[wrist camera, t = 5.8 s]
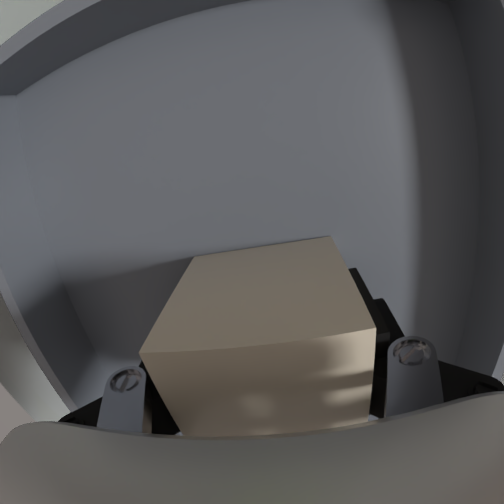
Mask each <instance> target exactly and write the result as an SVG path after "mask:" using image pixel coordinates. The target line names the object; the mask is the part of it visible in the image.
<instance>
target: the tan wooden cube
mask: <svg viewBox="0 0 504 504" xmlns="http://www.w3.org/2000/svg"><path fill="white" fill-rule="evenodd" d="M375 342H376V326H375V324H374V322H373V320H372V317H371V315H370V313H369V311H368V309H367V307H366V305H365V303H364V300H363V298H362V296H361V294H360V292H359V290H358V288H357V286H356V284H355V282H354V280H353V278H352V276H351V274H350V272H349V270H348V268H347V266H346V264H345V262H344V260H343V258H342V256H341V254H340V252H339V250H338V249H337V247H336V245H335V243H334V241H333V239H332V237H331V236H328V237H322V238H315V239H308V240H301V241H295V242H288V243H281V244H275V245H268V246H261V247H255V248H248V249H241V250H235V251H228V252H222V253H215V254H208V255H202V256H195V257H194V258H193V259H192V261H191V263H190V264H189V266H188V268H187V269H186V271H185V273H184V274H183V276H182V278H181V279H180V281H179V283H178V284H177V286H176V288H175V290H174V291H173V293H172V295H171V296H170V298H169V300H168V302H167V303H166V305H165V307H164V308H163V310H162V312H161V314H160V315H159V317H158V319H157V321H156V322H155V324H154V326H153V328H152V329H151V331H150V333H149V335H148V337H147V338H146V340H145V342H144V344H143V346H142V347H141V349H140V351H139V355H140V357H141V359H142V361H143V363H144V365H145V367H146V369H147V371H148V373H149V375H150V377H151V379H152V381H153V383H154V385H155V387H156V389H157V390H158V392H159V394H160V396H161V398H162V400H163V401H164V403H165V405H166V407H167V409H168V410H169V412H170V414H171V416H172V417H173V419H174V421H175V422H176V424H177V426H178V427H179V429H180V431H181V432H182V434H183V436H254V435H271V434H284V433H294V432H303V431H312V430H320V429H327V428H334V427H340V426H346V425H352V424H357V423H362V422H367V421H368V416H369V409H370V400H371V391H372V382H373V371H374V358H375Z"/></svg>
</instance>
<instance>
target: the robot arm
mask: <svg viewBox="0 0 504 504" xmlns="http://www.w3.org/2000/svg"><path fill="white" fill-rule="evenodd" d="M348 270H349V272H350V274H351V276H352V278H353V280H354V282H355V284H356V286H357V288H358V290H359V292H360V294H361V296H362V298H363V300H364V303H365V305H366V307H367V309H368V311H369V313H370V315H371V317H372V320H373V322H374V324H375V326H376V342H375V358H374V371H373V382H372V391H371V400H370V409H369V415H373V416H375V417H377V418H378V419H377V420H372V421H367V422H362V423H357V424H352V425H346V426H340V427H334V428H327V429H320V430H312V431H303V432H294V433H284V434H271V435H254V436H180V434H179V432H180V429H179V427H178V426H177V424H176V422H175V421H174V419H173V417H172V416H171V414H170V412H169V410H168V409H167V407H166V405H165V403H164V401H163V400H162V398H161V396H160V394H159V392H158V390H157V389H156V387H155V385H154V383H153V381H152V379H151V377H150V375H149V373H148V371H147V369H146V367H145V365H144V363H143V361H141V363H140V365H139V367H137V366H127V367H124V368H121V369H119V370H117V371H115V372H114V373H113V374H112V375H111V376H110V377H109V378H108V380H107V382H106V385H105V389H104V393H103V396H102V397H100V398H98V399H97V400H95V401H93V402H91V403H89V404H87V405H85V406H83V407H81V408H79V409H77V410H75V411H73V412H71V413H69V414H67V415H66V416H64V417H62V418H61V419H60V420H59V421H58V422H54V421H41V422H34V423H27V424H24V425H21V426H18V427H16V428H14V429H13V430H12V431H11V432H10V433H9V434H8V435H7V436H6V437H5V439H4V440H3V441H2V442H1V444H0V504H504V385H503V384H502V383H501V382H500V381H499V380H498V379H496V378H494V377H492V376H488V375H485V374H482V373H478V372H475V371H472V370H468V369H465V368H462V367H459V366H455V365H452V364H449V363H446V362H443V361H440V360H438V358H437V353H436V349H435V347H434V345H433V344H432V343H431V342H430V341H428V340H427V339H425V338H422V337H418V336H406V337H405V336H404V334H403V332H402V330H401V328H400V326H399V325H398V323H397V321H396V319H395V318H394V316H393V314H392V312H391V310H390V309H389V307H388V305H387V304H386V302H385V300H384V299H383V298H379V299H373V298H372V296H371V294H370V292H369V290H368V288H367V286H366V285H365V283H364V281H363V279H362V277H361V276H360V274H359V272H358V270H357V268H350V269H348Z"/></svg>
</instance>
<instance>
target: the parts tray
mask: <svg viewBox="0 0 504 504" xmlns="http://www.w3.org/2000/svg"><path fill="white" fill-rule="evenodd" d="M328 236H331V237H332V239H333V241H334V243H335V245H336V247H337V249H338V250H339V252H340V254H341V256H342V258H343V260H344V262H345V264H346V266H347V268H348V269H350V268H357V270H358V272H359V274H360V276H361V277H362V279H363V281H364V283H365V285H366V286H367V288H368V290H369V292H370V294H371V296H372V298H373V299H379V298H383V299H384V300H385V302H386V304H387V305H388V307H389V309H390V310H391V312H392V314H393V316H394V318H395V319H396V321H397V323H398V325H399V326H400V328H401V330H402V332H403V334H404V336H405V337H406V336H418V337H422V338H425V339H427V340H428V341H430V342H431V343H432V344H433V345H434V347H435V349H436V353H437V358H438V360H440V361H443V362H446V363H449V364H452V365H455V366H459V367H462V368H465V369H468V370H472V371H475V372H478V373H482V374H485V375H488V376H492V377H494V378H496V379H498V380H499V381H500V380H501V377H502V375H503V373H504V0H64V1H62V2H61V3H59V4H57V5H56V6H54V7H53V8H51V9H50V10H48V11H46V12H45V13H43V14H42V15H40V16H39V17H38V18H36V19H35V20H33V21H32V22H30V23H29V24H28V25H26V26H25V27H24V28H22V29H21V30H20V31H18V32H17V33H16V34H14V35H13V36H12V37H11V38H9V39H8V40H7V41H6V42H4V43H3V44H2V45H1V46H0V292H1V295H2V297H3V299H4V301H5V303H6V306H7V308H8V310H9V312H10V314H11V316H12V318H13V320H14V322H15V324H16V326H17V328H18V330H19V332H20V333H21V335H22V337H23V339H24V341H25V343H26V344H27V346H28V348H29V350H30V351H31V353H32V355H33V356H34V358H35V360H36V361H37V363H38V365H39V366H40V368H41V370H42V371H43V373H44V374H45V376H46V377H47V379H48V380H49V382H50V383H51V385H52V386H53V388H54V389H55V391H56V392H57V394H58V395H59V396H60V398H61V399H62V401H63V402H64V403H65V405H66V406H67V407H68V409H69V410H70V411H71V412H73V411H75V410H77V409H79V408H81V407H83V406H85V405H87V404H89V403H91V402H93V401H95V400H97V399H98V398H100V397H102V396H103V393H104V389H105V385H106V382H107V380H108V378H109V377H110V376H111V375H112V374H113V373H114V372H115V371H117V370H119V369H121V368H124V367H127V366H137V367H139V365H140V363H141V361H142V359H141V357H140V355H139V351H140V349H141V347H142V346H143V344H144V342H145V340H146V338H147V337H148V335H149V333H150V331H151V329H152V328H153V326H154V324H155V322H156V321H157V319H158V317H159V315H160V314H161V312H162V310H163V308H164V307H165V305H166V303H167V302H168V300H169V298H170V296H171V295H172V293H173V291H174V290H175V288H176V286H177V284H178V283H179V281H180V279H181V278H182V276H183V274H184V273H185V271H186V269H187V268H188V266H189V264H190V263H191V261H192V259H193V258H194V257H195V256H202V255H208V254H215V253H222V252H228V251H235V250H241V249H248V248H255V247H261V246H268V245H275V244H281V243H288V242H295V241H301V240H308V239H315V238H322V237H328ZM377 419H378V418H377V417H375V416H373V415H369V416H368V421H372V420H377ZM179 434H180V436H183V434H182V432H181V431H180V432H179Z"/></svg>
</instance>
